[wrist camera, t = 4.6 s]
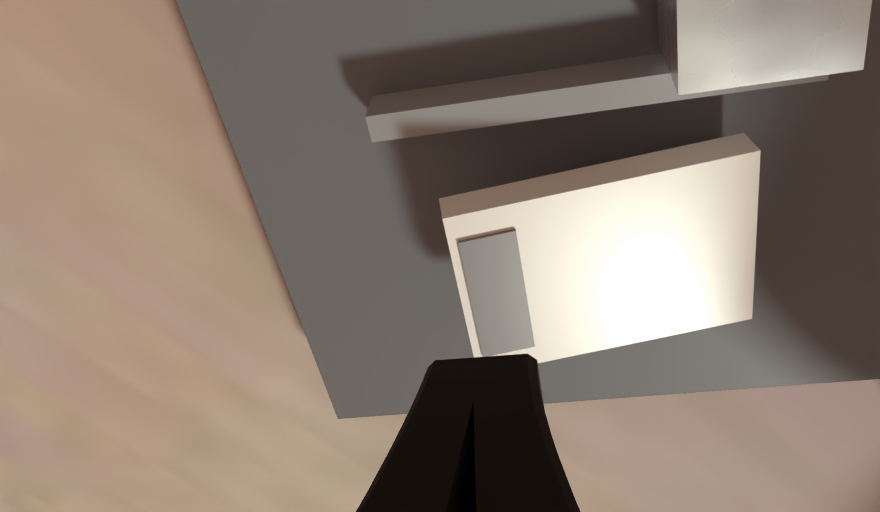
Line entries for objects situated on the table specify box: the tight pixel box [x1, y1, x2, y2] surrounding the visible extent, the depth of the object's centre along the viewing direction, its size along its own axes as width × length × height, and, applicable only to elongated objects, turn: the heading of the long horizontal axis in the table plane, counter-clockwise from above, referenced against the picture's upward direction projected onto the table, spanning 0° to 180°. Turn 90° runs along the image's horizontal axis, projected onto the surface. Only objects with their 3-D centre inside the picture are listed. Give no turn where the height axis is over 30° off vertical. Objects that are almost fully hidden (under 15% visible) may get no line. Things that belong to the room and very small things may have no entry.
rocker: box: [439, 133, 761, 363], centre depth 17 cm, size 6×4×1 cm
